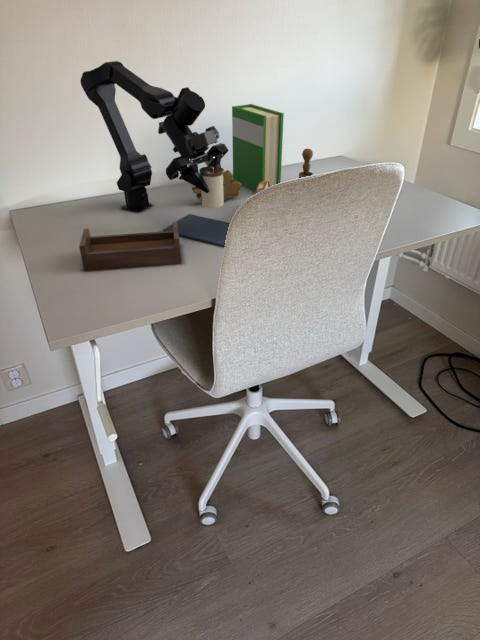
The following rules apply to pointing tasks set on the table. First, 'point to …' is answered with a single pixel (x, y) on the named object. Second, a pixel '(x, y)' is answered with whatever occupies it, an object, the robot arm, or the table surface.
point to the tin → (262, 186)
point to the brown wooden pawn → (306, 163)
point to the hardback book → (256, 145)
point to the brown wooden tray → (130, 249)
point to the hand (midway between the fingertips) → (216, 188)
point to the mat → (202, 229)
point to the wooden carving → (225, 186)
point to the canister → (212, 186)
